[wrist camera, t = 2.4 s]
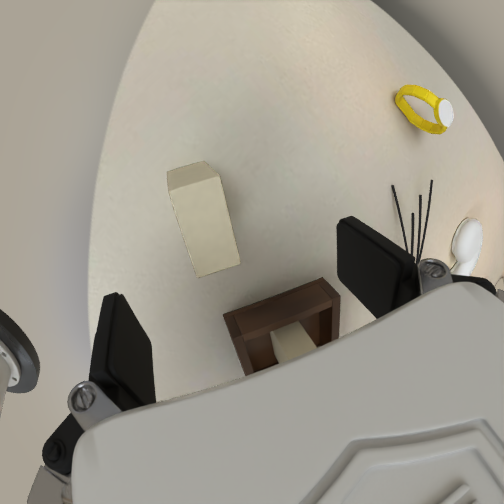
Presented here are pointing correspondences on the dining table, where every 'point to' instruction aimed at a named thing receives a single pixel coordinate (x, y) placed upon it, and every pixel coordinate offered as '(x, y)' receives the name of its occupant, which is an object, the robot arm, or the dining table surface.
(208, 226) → the cream rectangular block
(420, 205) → the reed diffuser
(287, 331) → the block
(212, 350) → the dining table surface
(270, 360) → the tray
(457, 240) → the sculpture
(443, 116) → the watch
